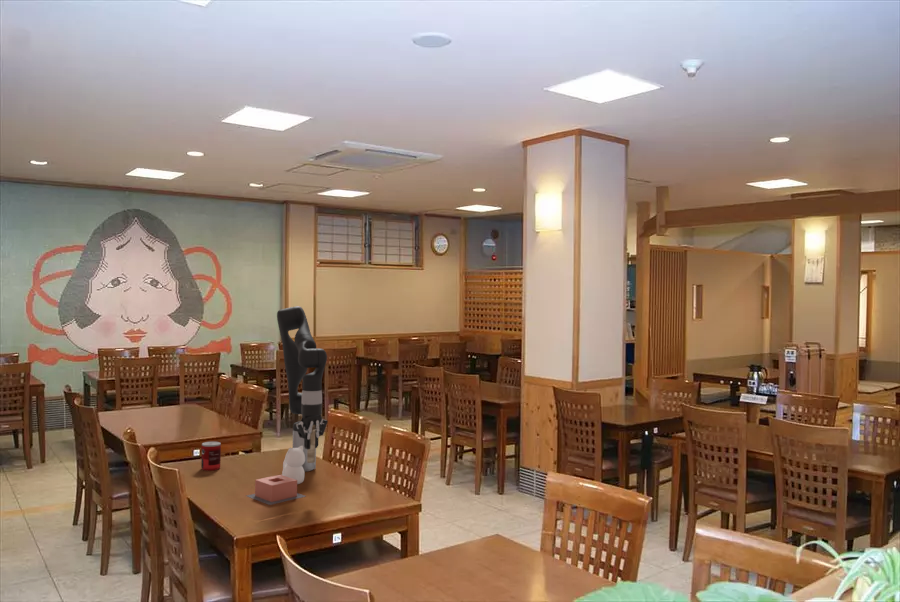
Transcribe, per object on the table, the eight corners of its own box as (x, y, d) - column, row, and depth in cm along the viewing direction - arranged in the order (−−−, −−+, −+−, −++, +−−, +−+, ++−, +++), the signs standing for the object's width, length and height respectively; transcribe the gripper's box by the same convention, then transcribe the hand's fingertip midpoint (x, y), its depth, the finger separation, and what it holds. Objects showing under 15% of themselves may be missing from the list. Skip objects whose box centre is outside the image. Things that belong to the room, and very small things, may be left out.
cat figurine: (291, 488, 274) (292, 450, 274) (273, 481, 282) (274, 444, 282) (310, 483, 281) (311, 446, 280) (291, 477, 289) (292, 441, 289)
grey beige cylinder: (311, 460, 262) (312, 423, 262) (316, 462, 260) (317, 424, 260) (305, 461, 260) (306, 424, 260) (310, 463, 258) (310, 425, 258)
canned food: (206, 466, 306) (206, 441, 306) (223, 467, 305) (224, 442, 305) (197, 470, 298) (198, 444, 298) (215, 471, 297) (215, 445, 297)
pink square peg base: (280, 490, 269) (280, 474, 269) (296, 496, 261) (297, 480, 261) (255, 495, 260) (255, 479, 260) (271, 502, 253) (271, 485, 253)
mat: (282, 488, 272) (282, 487, 272) (306, 497, 261) (306, 496, 261) (245, 496, 260) (245, 495, 260) (269, 505, 249) (269, 504, 249)
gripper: (320, 399, 267) (320, 443, 268) (290, 402, 257) (289, 449, 257) (333, 401, 262) (332, 447, 263) (302, 405, 252) (301, 453, 252)
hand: (311, 448), depth 260 cm, fingers closed on grey beige cylinder, 2 cm apart
